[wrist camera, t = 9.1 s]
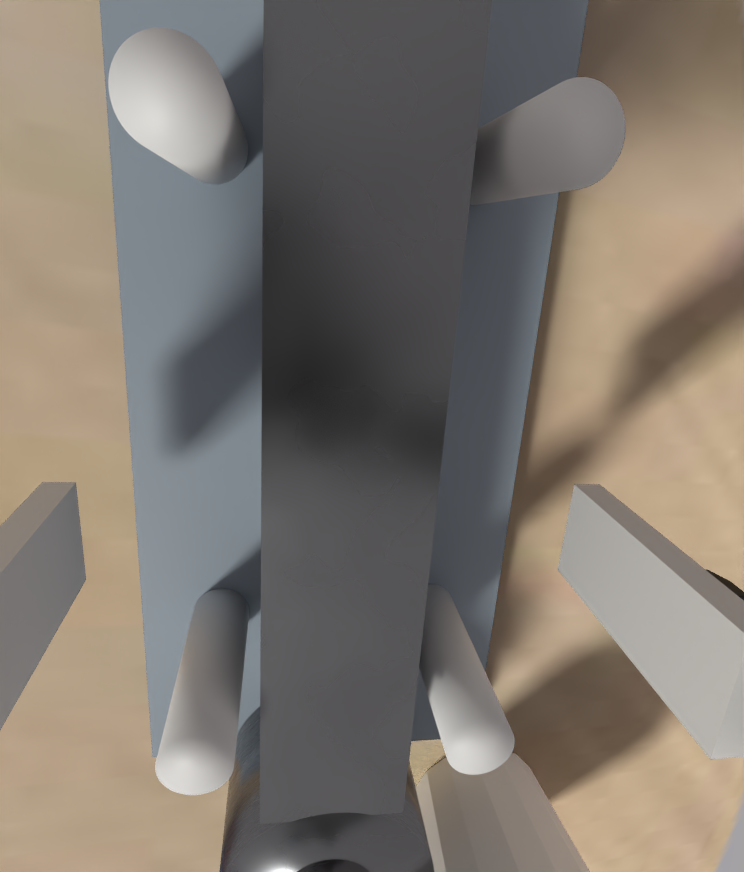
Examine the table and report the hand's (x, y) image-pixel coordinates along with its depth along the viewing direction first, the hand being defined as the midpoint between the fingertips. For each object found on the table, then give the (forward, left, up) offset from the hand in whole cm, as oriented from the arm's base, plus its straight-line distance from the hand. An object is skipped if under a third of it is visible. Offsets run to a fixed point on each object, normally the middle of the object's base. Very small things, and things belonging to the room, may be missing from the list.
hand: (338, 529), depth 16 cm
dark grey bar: (+1, 0, -3) cm, 3 cm away
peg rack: (-2, 0, -5) cm, 5 cm away
